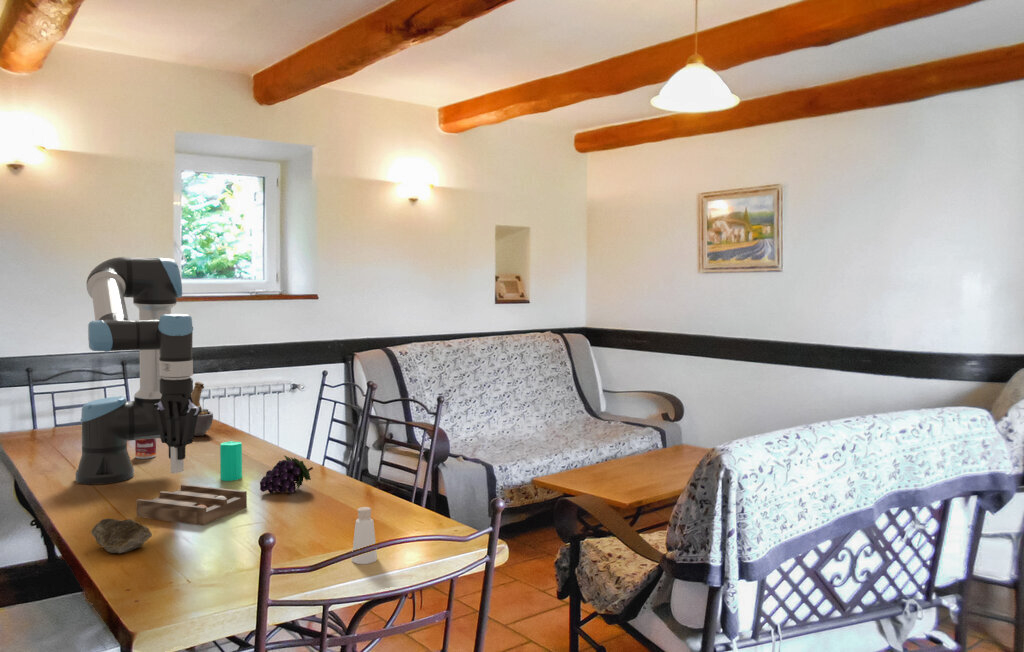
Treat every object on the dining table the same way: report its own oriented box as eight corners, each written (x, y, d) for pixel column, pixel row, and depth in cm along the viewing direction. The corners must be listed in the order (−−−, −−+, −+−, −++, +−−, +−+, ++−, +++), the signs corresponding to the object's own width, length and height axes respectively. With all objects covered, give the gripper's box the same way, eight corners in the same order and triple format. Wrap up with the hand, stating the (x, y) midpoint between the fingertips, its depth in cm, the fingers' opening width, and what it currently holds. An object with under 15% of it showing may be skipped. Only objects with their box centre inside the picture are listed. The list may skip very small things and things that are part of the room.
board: (136, 516, 190) (136, 499, 190) (183, 499, 205) (183, 484, 205) (203, 525, 184) (203, 508, 183) (246, 507, 199) (246, 491, 198)
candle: (234, 481, 224) (234, 440, 224) (216, 480, 225) (215, 439, 225) (246, 476, 230) (245, 436, 229) (227, 475, 231) (227, 435, 231)
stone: (79, 540, 167) (101, 506, 171) (107, 554, 172) (128, 520, 176) (112, 552, 160) (134, 517, 164) (140, 566, 166) (161, 531, 170)
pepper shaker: (346, 562, 161) (346, 510, 160) (360, 554, 166) (360, 503, 165) (368, 566, 159) (368, 513, 158) (382, 557, 164) (382, 506, 163)
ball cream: (207, 507, 195) (212, 495, 195) (217, 504, 199) (221, 491, 198) (218, 514, 194) (223, 502, 194) (228, 510, 198) (232, 498, 197)
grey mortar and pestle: (209, 438, 284) (209, 384, 283) (164, 438, 284) (163, 384, 283) (225, 431, 299) (224, 379, 298) (182, 430, 299) (181, 379, 298)
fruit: (260, 502, 214) (310, 481, 223) (273, 505, 205) (324, 483, 214) (249, 467, 213) (299, 447, 222) (261, 469, 205) (312, 448, 213)
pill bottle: (134, 459, 250) (134, 426, 249) (135, 455, 256) (135, 422, 255) (155, 458, 252) (155, 424, 252) (156, 454, 258) (156, 421, 257)
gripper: (143, 377, 187) (144, 472, 189) (187, 381, 183) (188, 478, 185) (166, 373, 195) (166, 465, 196) (208, 377, 191) (209, 471, 192)
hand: (177, 471), depth 191 cm, fingers closed
